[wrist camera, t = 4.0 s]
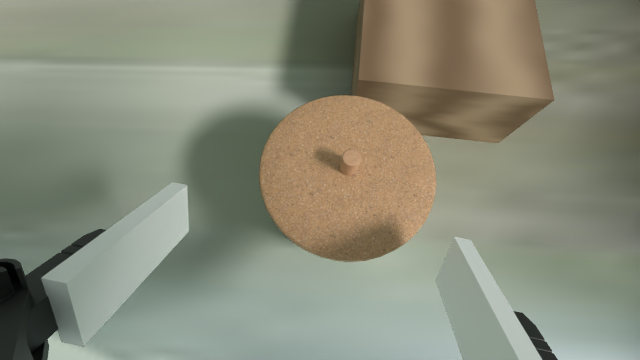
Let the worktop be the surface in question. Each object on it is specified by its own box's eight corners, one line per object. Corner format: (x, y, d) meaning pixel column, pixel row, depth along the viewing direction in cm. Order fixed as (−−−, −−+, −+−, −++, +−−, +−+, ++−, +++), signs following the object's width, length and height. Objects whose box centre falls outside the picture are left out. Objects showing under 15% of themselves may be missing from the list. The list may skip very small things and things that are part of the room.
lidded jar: (254, 176, 26) (223, 119, 17) (360, 128, 27) (383, 53, 19) (309, 294, 22) (307, 299, 14) (425, 230, 24) (489, 198, 15)
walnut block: (483, 30, 32) (527, -35, 26) (496, 144, 28) (554, 100, 21) (357, 17, 32) (368, -51, 26) (347, 128, 28) (358, 79, 21)
